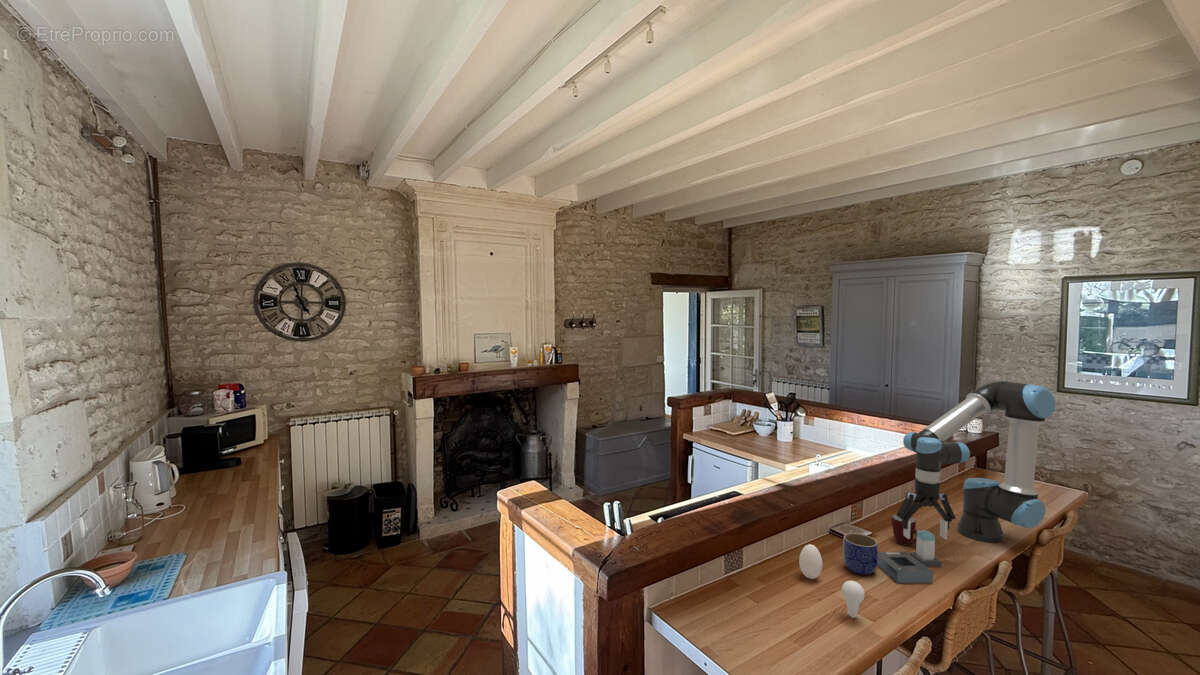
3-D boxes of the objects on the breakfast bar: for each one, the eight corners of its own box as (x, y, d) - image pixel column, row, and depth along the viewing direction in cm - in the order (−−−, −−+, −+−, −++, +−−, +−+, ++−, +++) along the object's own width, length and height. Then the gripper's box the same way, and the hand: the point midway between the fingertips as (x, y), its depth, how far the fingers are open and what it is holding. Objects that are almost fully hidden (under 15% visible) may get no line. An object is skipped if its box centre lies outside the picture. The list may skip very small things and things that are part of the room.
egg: (796, 579, 168) (797, 546, 167) (801, 570, 174) (802, 538, 173) (819, 586, 164) (820, 552, 163) (823, 576, 170) (824, 543, 169)
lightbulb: (837, 611, 150) (837, 577, 149) (855, 610, 150) (856, 576, 150) (848, 624, 144) (849, 588, 143) (868, 623, 144) (869, 587, 144)
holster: (927, 557, 183) (928, 552, 183) (941, 566, 176) (941, 561, 176) (909, 557, 183) (909, 552, 183) (921, 567, 176) (922, 561, 176)
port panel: (906, 562, 179) (906, 550, 179) (932, 583, 165) (932, 570, 165) (873, 562, 179) (874, 551, 179) (897, 583, 165) (897, 571, 165)
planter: (873, 565, 177) (874, 535, 177) (880, 580, 167) (881, 548, 167) (840, 560, 181) (841, 530, 180) (845, 575, 171) (845, 543, 170)
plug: (926, 559, 181) (927, 530, 181) (934, 564, 177) (935, 535, 177) (916, 559, 181) (916, 530, 181) (923, 565, 177) (924, 535, 177)
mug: (926, 547, 190) (926, 522, 190) (912, 552, 187) (913, 526, 186) (899, 536, 200) (900, 512, 199) (886, 540, 196) (887, 516, 196)
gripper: (953, 477, 182) (951, 532, 183) (887, 476, 181) (885, 532, 182) (968, 484, 174) (966, 542, 175) (900, 483, 174) (897, 541, 175)
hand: (924, 537), depth 179 cm, fingers open, 13 cm apart
